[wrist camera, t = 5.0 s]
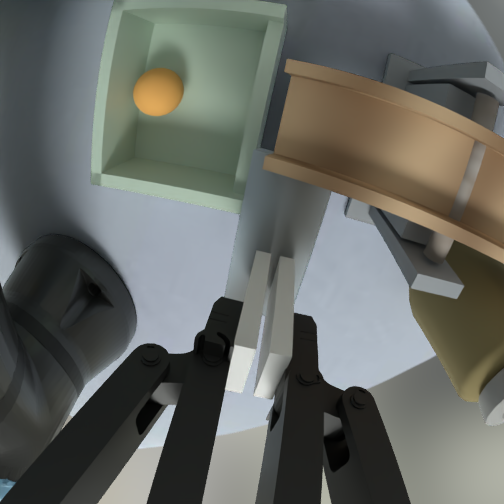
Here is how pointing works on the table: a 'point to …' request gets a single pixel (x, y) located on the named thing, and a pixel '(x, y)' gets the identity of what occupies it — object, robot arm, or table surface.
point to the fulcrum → (459, 101)
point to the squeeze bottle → (469, 329)
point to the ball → (158, 91)
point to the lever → (369, 170)
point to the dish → (187, 97)
